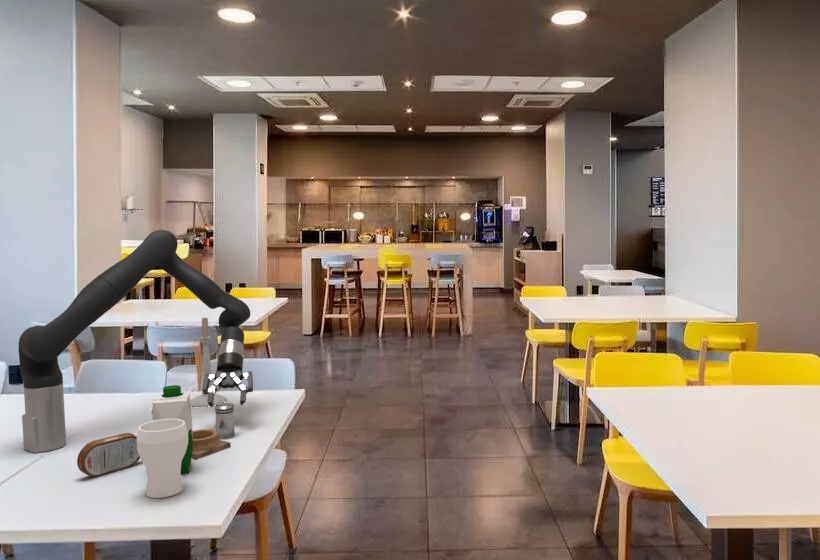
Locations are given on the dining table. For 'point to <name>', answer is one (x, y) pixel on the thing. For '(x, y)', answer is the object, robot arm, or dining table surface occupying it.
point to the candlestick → (206, 371)
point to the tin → (108, 455)
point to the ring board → (207, 452)
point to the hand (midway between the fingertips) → (226, 404)
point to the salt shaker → (225, 420)
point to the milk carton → (176, 416)
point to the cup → (163, 455)
